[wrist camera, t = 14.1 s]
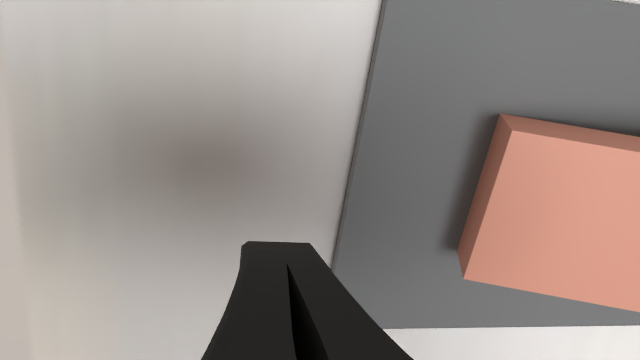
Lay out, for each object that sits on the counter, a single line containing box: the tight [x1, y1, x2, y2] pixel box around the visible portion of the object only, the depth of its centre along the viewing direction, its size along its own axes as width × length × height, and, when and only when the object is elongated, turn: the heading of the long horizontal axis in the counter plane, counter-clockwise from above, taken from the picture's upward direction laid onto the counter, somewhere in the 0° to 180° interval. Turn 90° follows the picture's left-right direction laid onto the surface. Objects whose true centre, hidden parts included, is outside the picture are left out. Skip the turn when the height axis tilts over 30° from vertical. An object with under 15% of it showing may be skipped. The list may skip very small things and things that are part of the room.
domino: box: [457, 113, 640, 312], centre depth 15 cm, size 2×5×9 cm
